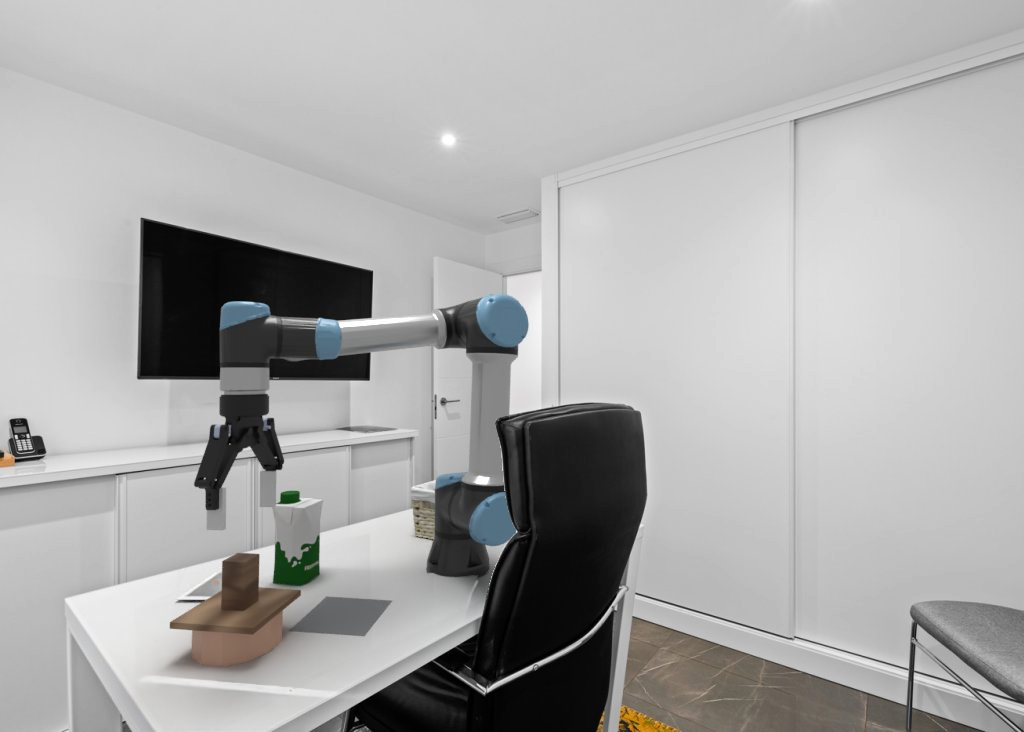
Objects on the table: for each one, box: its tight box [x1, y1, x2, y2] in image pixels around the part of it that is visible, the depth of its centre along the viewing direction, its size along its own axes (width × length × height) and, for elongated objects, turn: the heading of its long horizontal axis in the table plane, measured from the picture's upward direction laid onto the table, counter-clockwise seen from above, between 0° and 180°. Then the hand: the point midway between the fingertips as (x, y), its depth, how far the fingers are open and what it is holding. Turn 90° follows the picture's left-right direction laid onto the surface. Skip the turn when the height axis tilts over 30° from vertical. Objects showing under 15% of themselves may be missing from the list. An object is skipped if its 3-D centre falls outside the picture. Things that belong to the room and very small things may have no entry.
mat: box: [288, 596, 393, 637], centre depth 95 cm, size 14×14×1 cm
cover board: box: [169, 552, 302, 635], centre depth 85 cm, size 14×14×9 cm
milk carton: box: [271, 490, 324, 587], centre depth 112 cm, size 9×9×20 cm
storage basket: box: [410, 479, 436, 541], centre depth 151 cm, size 24×16×15 cm
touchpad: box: [175, 570, 222, 601], centre depth 109 cm, size 8×15×2 cm, turn 1°
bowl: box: [191, 610, 284, 667], centre depth 85 cm, size 13×13×6 cm
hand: (244, 517), depth 85 cm, fingers open, 13 cm apart
